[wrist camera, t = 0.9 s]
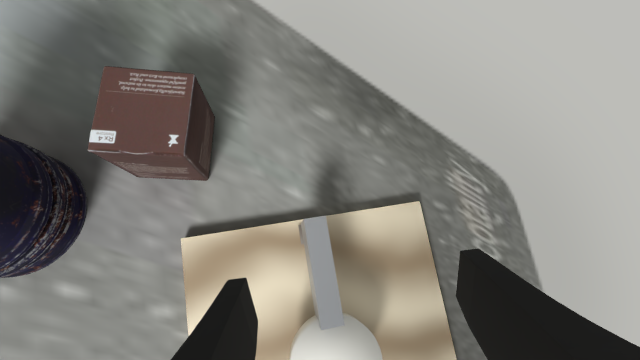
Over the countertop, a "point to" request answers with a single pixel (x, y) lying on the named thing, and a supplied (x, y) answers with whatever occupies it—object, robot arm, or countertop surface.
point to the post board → (351, 272)
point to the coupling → (328, 308)
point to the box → (153, 124)
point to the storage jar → (36, 208)
